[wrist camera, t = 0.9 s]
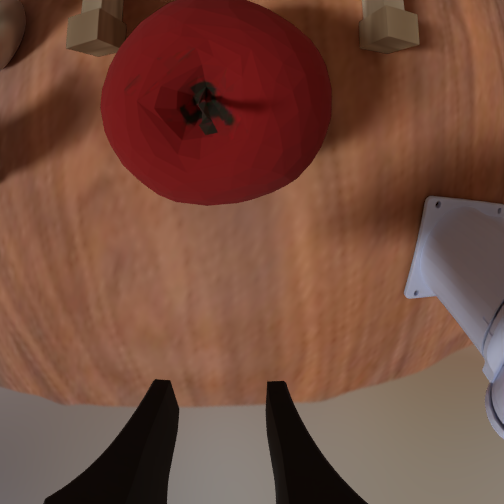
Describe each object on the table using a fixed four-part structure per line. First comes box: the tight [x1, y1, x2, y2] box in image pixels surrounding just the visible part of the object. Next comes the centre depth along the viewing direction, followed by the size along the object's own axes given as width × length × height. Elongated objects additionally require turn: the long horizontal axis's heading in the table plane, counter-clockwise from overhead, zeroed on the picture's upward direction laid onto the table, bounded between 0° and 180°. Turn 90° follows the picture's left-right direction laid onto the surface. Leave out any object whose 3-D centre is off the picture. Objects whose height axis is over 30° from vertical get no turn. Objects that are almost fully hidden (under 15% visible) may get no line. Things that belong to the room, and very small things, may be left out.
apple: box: [100, 0, 332, 206], centre depth 11 cm, size 9×9×10 cm
